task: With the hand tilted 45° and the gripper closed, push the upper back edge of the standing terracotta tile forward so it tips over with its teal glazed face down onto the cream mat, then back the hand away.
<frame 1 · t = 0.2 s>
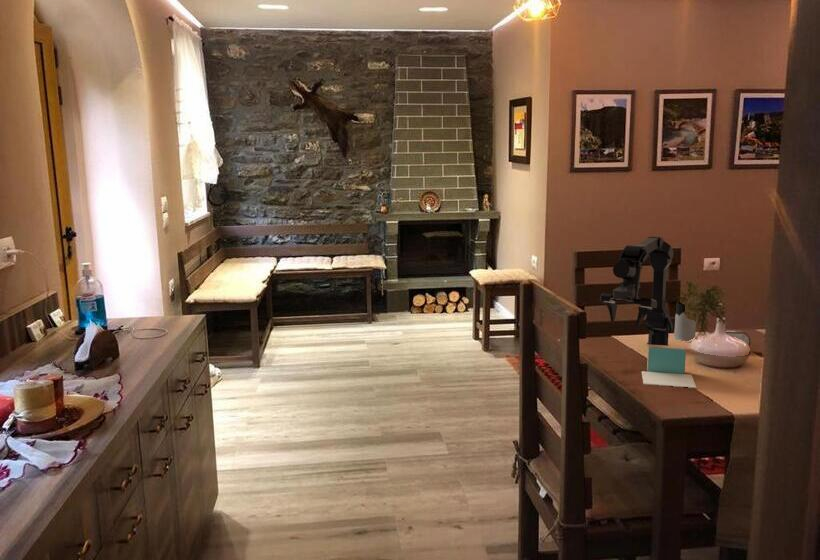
hand: (624, 324, 233), 15 cm above the table, tool pointing down, fingers open, 9 cm apart
tin: (728, 352, 253), on the table
mat: (667, 380, 221), on the table
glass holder: (682, 337, 274), on the table
tile: (665, 371, 230), on the table
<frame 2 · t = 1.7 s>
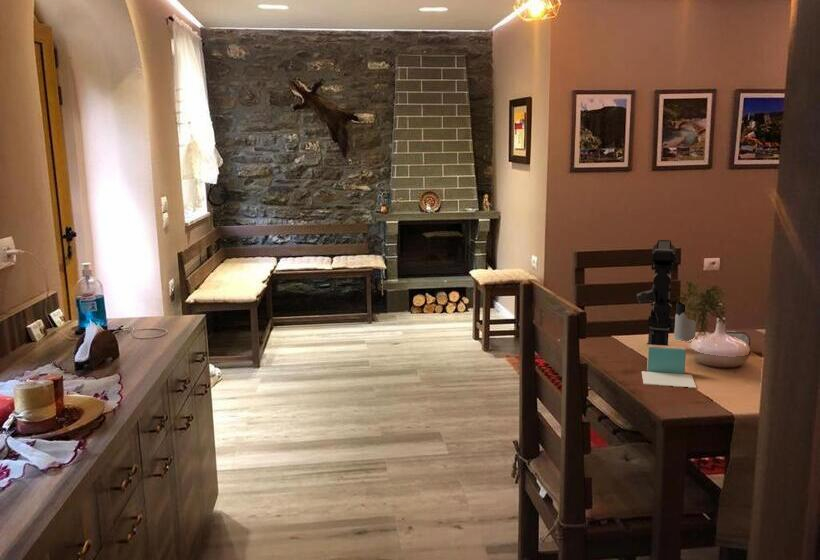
hand: (659, 325, 244), 12 cm above the table, tool pointing down, fingers open, 5 cm apart
nothing on the table moved.
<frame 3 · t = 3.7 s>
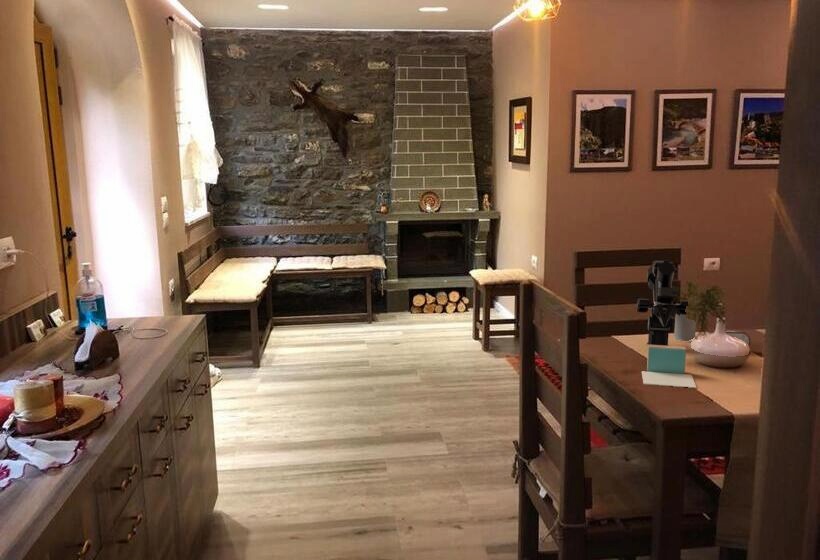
hand: (664, 326, 240), 13 cm above the table, tool tilted 45°, fingers closed
nothing on the table moved.
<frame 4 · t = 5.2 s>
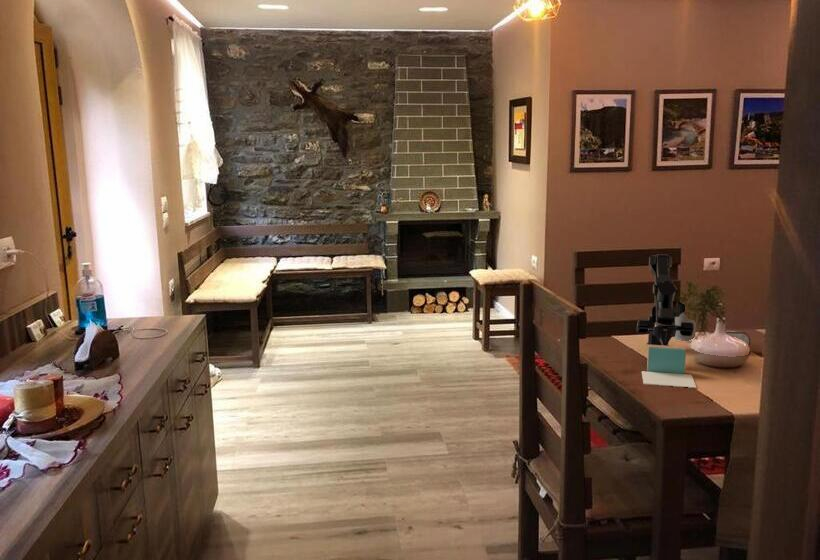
hand: (665, 348, 234), 7 cm above the table, tool tilted 45°, fingers closed
nothing on the table moved.
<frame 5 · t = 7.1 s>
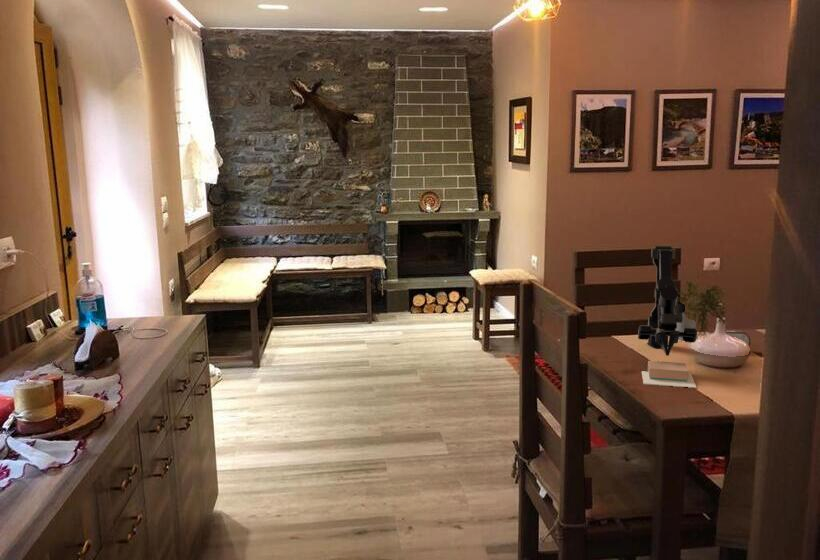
hand: (667, 355, 226), 7 cm above the table, tool tilted 45°, fingers closed
tile: (666, 366, 228), point 2 cm above the table, tilted 90°, touching mat
everything else where it was.
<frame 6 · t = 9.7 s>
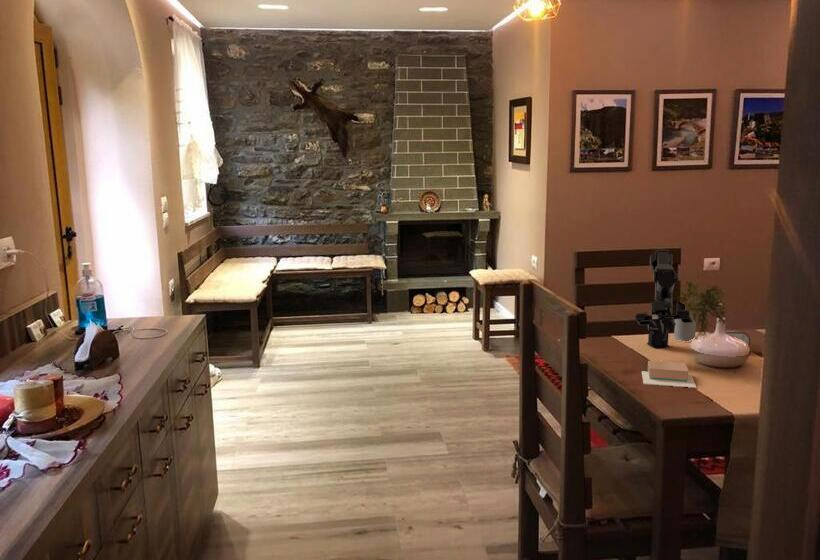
hand: (663, 339, 236), 9 cm above the table, tool tilted 35°, fingers closed
nothing on the table moved.
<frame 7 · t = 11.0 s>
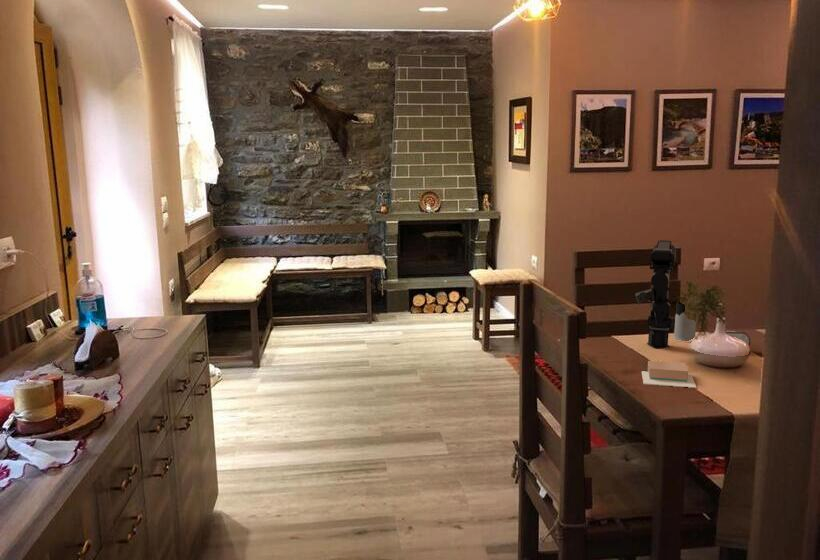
hand: (658, 325, 245), 12 cm above the table, tool pointing down, fingers closed
nothing on the table moved.
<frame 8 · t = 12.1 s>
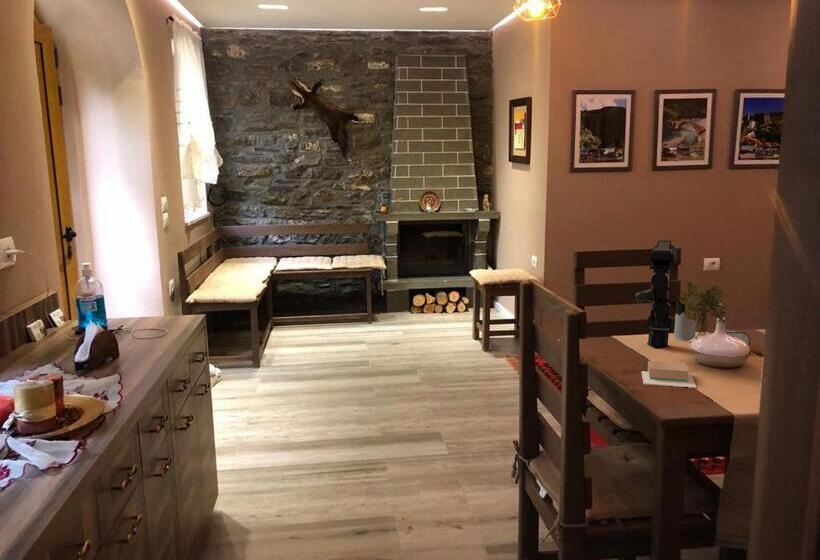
hand: (658, 325, 245), 12 cm above the table, tool pointing down, fingers closed
nothing on the table moved.
at the end: tile tilted 90°; tile inside the target area (3.1 cm from its centre), point 2.5 cm above the table; tile touching mat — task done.
